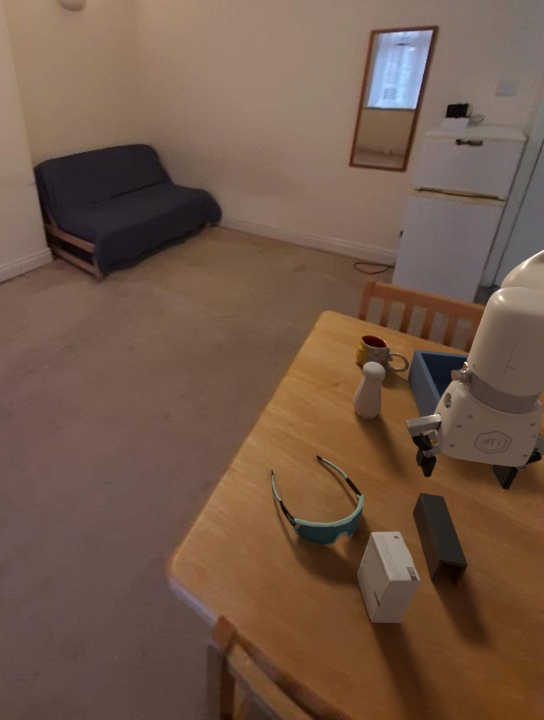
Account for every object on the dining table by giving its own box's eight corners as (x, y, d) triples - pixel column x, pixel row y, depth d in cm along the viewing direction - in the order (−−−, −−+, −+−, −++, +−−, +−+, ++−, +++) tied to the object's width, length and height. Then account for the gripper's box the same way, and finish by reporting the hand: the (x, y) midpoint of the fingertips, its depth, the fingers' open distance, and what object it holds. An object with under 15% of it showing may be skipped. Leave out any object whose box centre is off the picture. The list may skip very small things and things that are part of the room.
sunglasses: (304, 561, 64) (304, 538, 62) (261, 482, 78) (261, 462, 76) (378, 531, 67) (381, 509, 66) (325, 461, 81) (326, 441, 79)
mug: (350, 362, 103) (354, 341, 100) (362, 348, 107) (366, 328, 104) (399, 386, 95) (405, 365, 92) (410, 371, 99) (416, 350, 96)
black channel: (435, 517, 69) (443, 496, 67) (457, 586, 60) (468, 565, 58) (412, 512, 70) (419, 492, 67) (431, 580, 61) (440, 559, 59)
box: (467, 385, 94) (478, 356, 91) (499, 445, 81) (513, 414, 77) (407, 378, 97) (414, 349, 93) (427, 435, 83) (438, 404, 79)
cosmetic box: (355, 574, 62) (367, 529, 57) (384, 574, 62) (399, 528, 57) (371, 626, 57) (387, 581, 51) (403, 626, 57) (422, 580, 51)
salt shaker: (370, 427, 85) (381, 381, 80) (345, 410, 90) (354, 366, 84) (384, 412, 89) (395, 367, 83) (359, 396, 93) (368, 353, 87)
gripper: (432, 398, 48) (402, 488, 55) (604, 418, 44) (547, 512, 52) (412, 354, 54) (388, 441, 62) (561, 369, 51) (516, 458, 58)
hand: (460, 473), depth 57 cm, fingers open, 9 cm apart
